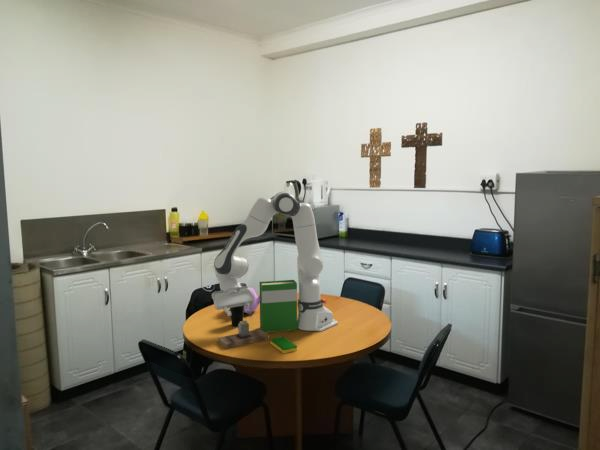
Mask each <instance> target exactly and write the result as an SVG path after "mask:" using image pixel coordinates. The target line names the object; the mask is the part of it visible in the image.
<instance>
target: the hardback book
mask: <svg viewBox="0 0 600 450" xmlns="http://www.w3.org/2000/svg"><path fill="white" fill-rule="evenodd" d="M259 295H260V303H259V329H261V330H262V331H264V332H266V333H272V332H273V333H274V332H284V331H285V332H286V331H296V330H298V328H297V317H298V282H297V281H296V280H295V279H285V280H284V279H283V280H269V281H268V280H266V281H259Z"/></svg>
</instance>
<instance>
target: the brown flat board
mask: <svg viewBox="0 0 600 450" xmlns="http://www.w3.org/2000/svg"><path fill="white" fill-rule="evenodd" d="M217 340H218V341H217V343H218V344H220V345H221V347H223V348H224V349H226V350H227V349H228V350H229V349H232V348H237V347H241V346H245V345H250V344H253V343H257V342H263V341H267V340H270V334H269V333H268V332H264V331H262V328H258V329H257V328H256V329H253V330H249V337H248V338H244V339H240V338H239V337H238V333H234V334H230V335H226V336H220V337H218V338H217Z"/></svg>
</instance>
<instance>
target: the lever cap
mask: <svg viewBox="0 0 600 450" xmlns="http://www.w3.org/2000/svg"><path fill="white" fill-rule="evenodd" d="M249 325H250V323H248V321H247V320H244V319H243V321H240V323H238V327H237V328H238V333H237V334H238V337H239V338H240V339H244V338H248V337H249V331H250V327H249Z"/></svg>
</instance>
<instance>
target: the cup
mask: <svg viewBox="0 0 600 450" xmlns="http://www.w3.org/2000/svg"><path fill="white" fill-rule="evenodd" d="M229 311H231V313H232V315H231V316H230V321H231V326H232V327H234V328H238V323H240V321H244V313H245V312H244V305H243V306H238V307H232V308H229Z"/></svg>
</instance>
